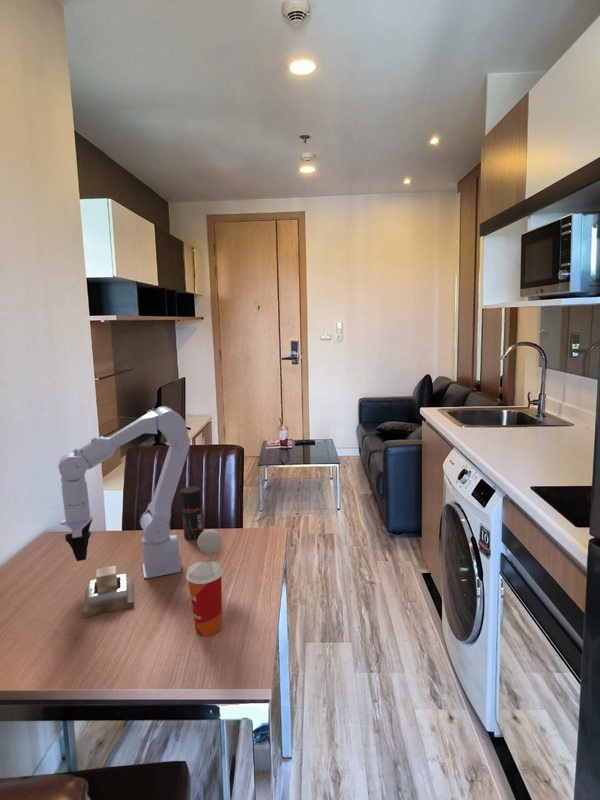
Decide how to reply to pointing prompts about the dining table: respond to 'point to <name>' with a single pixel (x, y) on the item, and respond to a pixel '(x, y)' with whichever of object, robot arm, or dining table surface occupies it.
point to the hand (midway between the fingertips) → (82, 553)
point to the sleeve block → (106, 579)
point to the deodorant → (191, 512)
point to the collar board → (108, 597)
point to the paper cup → (206, 597)
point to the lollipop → (209, 542)
